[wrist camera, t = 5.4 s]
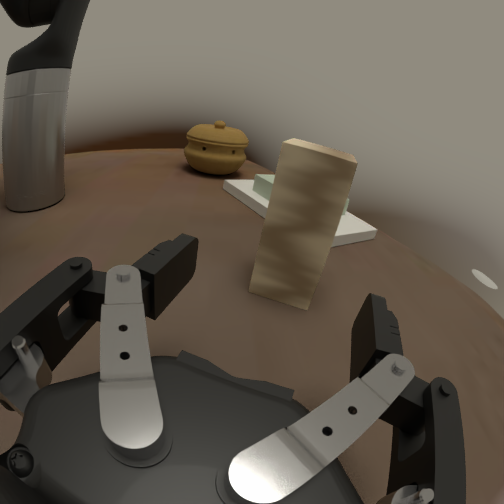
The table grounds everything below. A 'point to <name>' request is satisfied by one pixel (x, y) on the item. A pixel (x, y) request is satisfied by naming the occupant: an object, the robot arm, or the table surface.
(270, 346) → the table surface
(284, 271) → the birch column
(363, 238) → the green white flat block
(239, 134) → the pot
